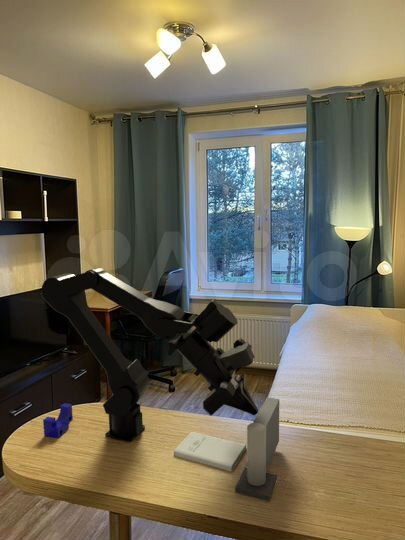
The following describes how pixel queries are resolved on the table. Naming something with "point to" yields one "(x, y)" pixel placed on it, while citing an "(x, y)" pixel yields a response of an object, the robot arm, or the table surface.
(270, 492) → the arm mount
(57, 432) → the cable holder
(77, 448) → the table surface
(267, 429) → the swing arm
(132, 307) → the robot arm
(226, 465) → the external hard drive
